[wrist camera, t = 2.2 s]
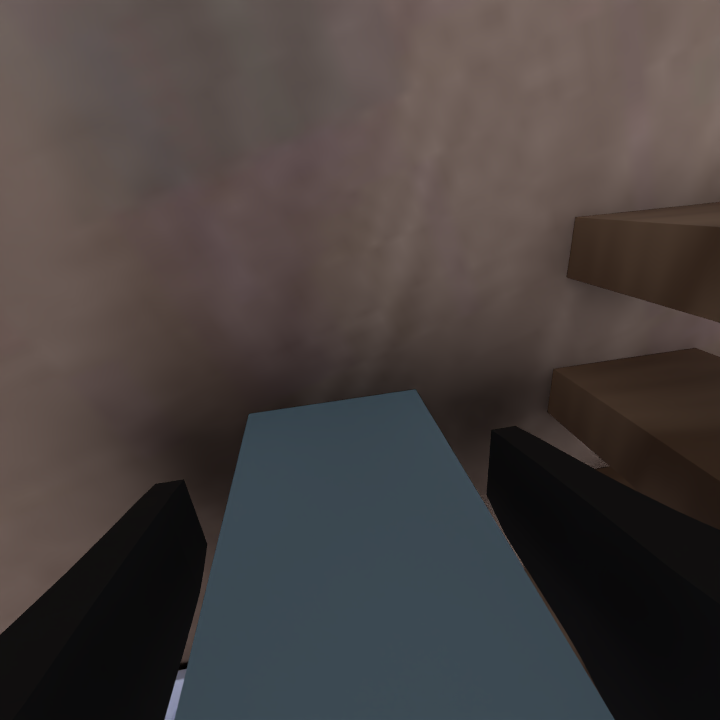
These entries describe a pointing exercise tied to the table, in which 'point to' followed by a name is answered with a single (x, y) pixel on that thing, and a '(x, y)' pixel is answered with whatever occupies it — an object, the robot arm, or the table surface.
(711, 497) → the walnut domino
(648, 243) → the walnut domino
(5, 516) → the table surface
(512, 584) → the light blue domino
